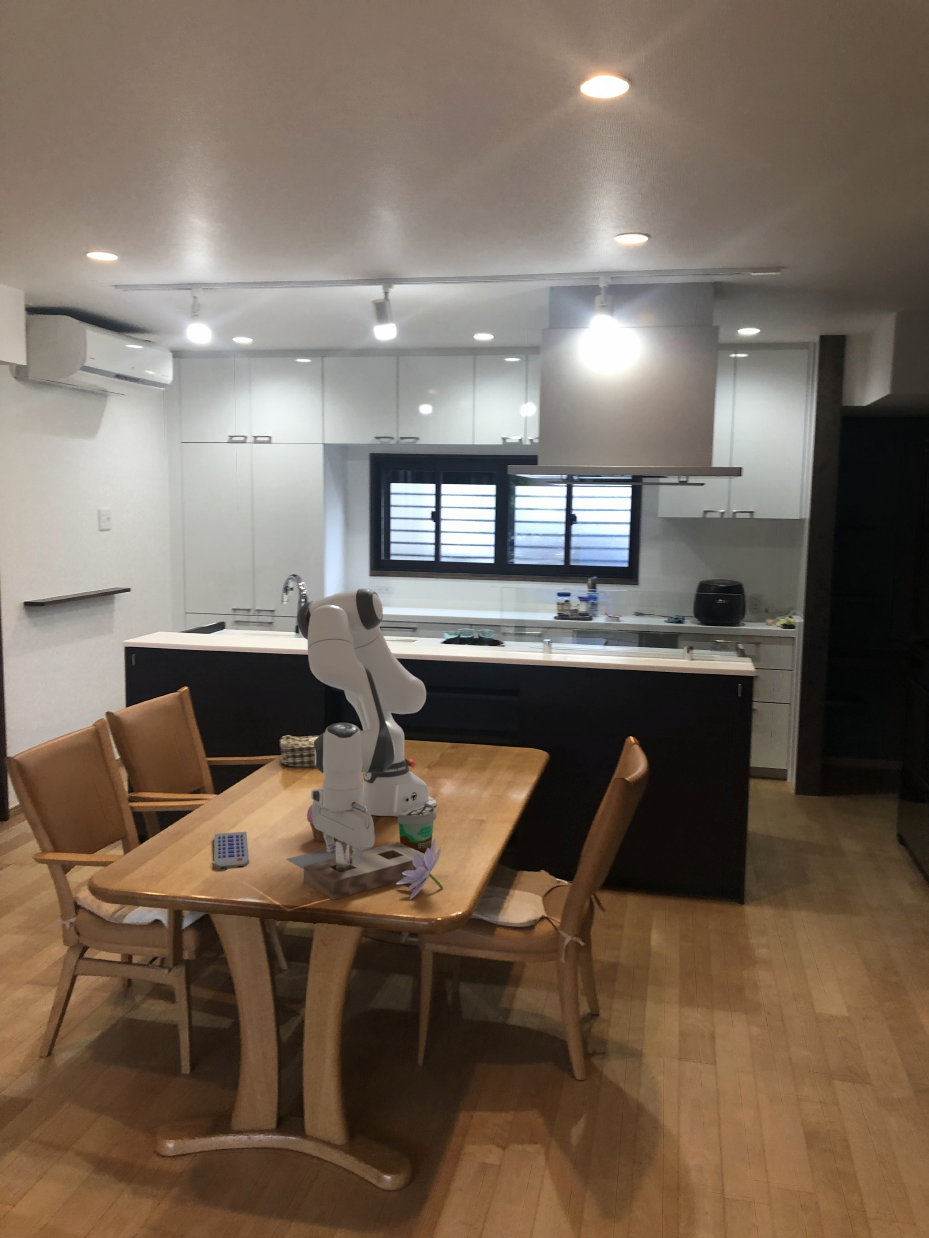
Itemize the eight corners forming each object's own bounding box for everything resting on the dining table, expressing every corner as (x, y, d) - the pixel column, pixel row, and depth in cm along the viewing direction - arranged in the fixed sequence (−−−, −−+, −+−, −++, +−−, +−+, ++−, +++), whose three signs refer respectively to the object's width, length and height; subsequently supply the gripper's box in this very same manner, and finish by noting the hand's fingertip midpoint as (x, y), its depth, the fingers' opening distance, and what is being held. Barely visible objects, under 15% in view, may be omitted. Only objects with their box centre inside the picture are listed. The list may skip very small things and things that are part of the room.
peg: (344, 881, 215) (344, 838, 214) (352, 885, 213) (352, 841, 212) (333, 884, 213) (333, 840, 212) (340, 888, 211) (340, 844, 210)
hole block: (397, 858, 230) (398, 841, 230) (428, 872, 221) (428, 855, 221) (303, 883, 214) (303, 866, 213) (332, 900, 204) (332, 882, 204)
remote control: (246, 838, 244) (246, 830, 244) (249, 869, 223) (249, 860, 222) (214, 840, 242) (214, 832, 242) (214, 872, 221) (213, 863, 220)
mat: (329, 849, 235) (329, 848, 235) (356, 863, 226) (356, 862, 226) (286, 860, 228) (286, 858, 228) (312, 875, 218) (312, 873, 218)
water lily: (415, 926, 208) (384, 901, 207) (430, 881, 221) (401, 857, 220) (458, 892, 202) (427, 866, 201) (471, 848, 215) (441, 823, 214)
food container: (417, 859, 229) (418, 819, 228) (396, 854, 233) (397, 814, 231) (445, 845, 240) (446, 806, 239) (425, 840, 243) (425, 802, 242)
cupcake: (331, 847, 237) (331, 808, 236) (300, 843, 240) (300, 804, 239) (347, 836, 245) (347, 798, 244) (317, 832, 248) (317, 795, 247)
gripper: (381, 806, 205) (381, 868, 207) (330, 785, 221) (330, 843, 222) (357, 811, 201) (357, 875, 203) (307, 789, 217) (307, 848, 218)
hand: (343, 858), depth 213 cm, fingers open, 8 cm apart
